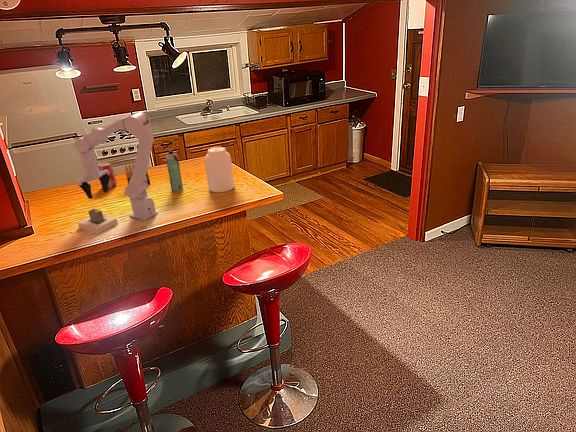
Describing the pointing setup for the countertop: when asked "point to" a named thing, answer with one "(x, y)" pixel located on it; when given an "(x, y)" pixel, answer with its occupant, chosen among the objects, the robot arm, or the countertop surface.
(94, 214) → the key peg
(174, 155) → the spray can
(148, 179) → the ammunition clip
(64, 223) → the countertop surface
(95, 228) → the socket block
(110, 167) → the soda can
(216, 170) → the white plastic jar
